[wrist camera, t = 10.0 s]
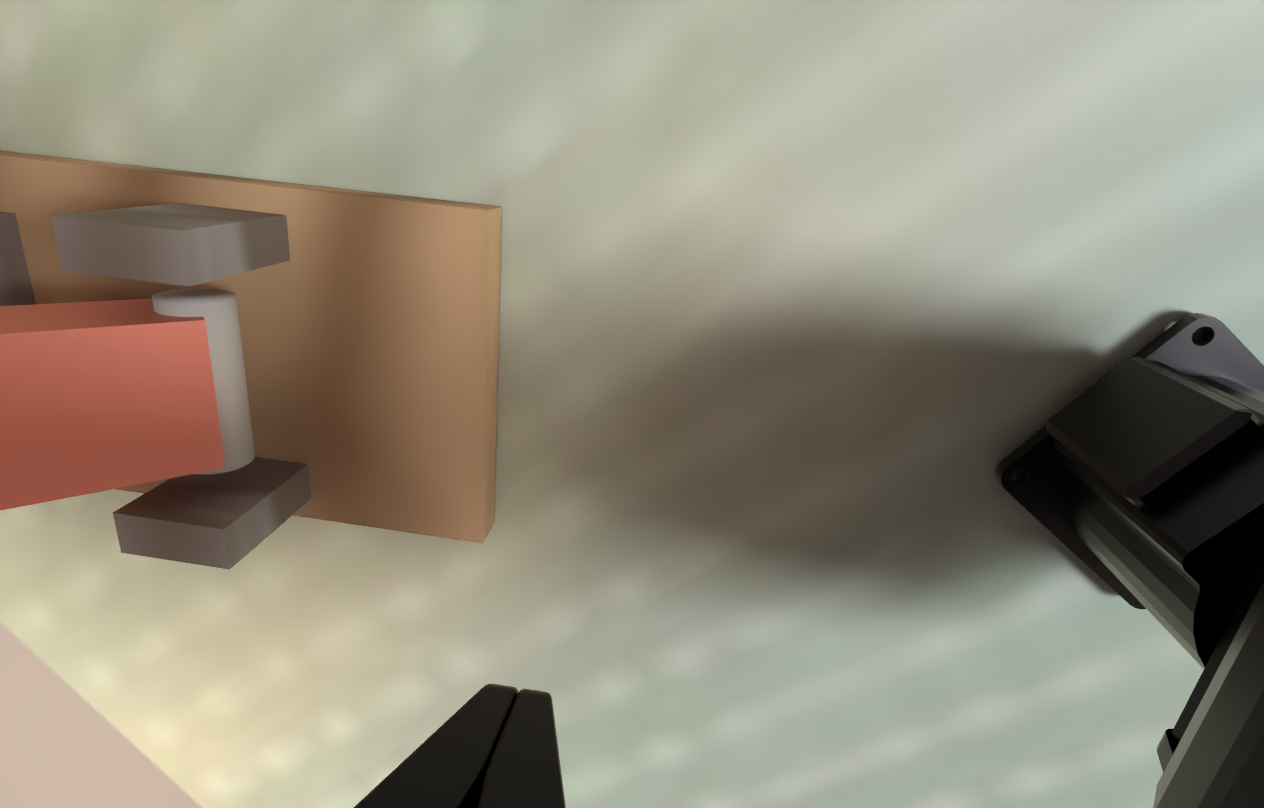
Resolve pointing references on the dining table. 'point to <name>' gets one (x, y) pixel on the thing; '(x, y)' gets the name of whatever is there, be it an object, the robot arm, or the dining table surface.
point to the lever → (120, 394)
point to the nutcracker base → (290, 340)
